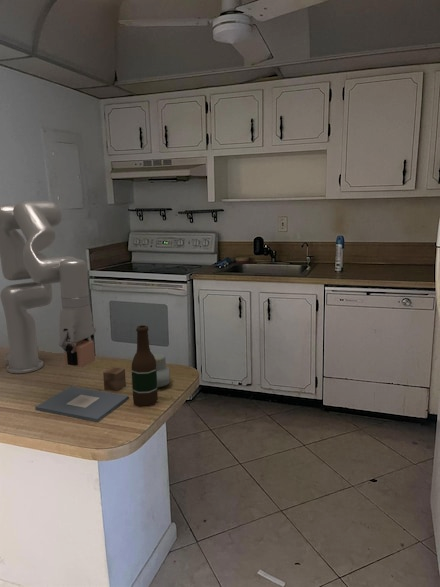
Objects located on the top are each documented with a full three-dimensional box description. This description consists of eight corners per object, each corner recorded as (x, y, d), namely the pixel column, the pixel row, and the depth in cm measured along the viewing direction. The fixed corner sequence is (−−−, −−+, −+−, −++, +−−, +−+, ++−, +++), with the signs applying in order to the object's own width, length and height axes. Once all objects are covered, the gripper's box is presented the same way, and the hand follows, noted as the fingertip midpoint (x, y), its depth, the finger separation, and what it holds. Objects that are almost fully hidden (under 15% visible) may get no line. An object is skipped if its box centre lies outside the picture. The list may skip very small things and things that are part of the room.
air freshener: (169, 390, 144) (168, 361, 142) (143, 391, 143) (142, 362, 141) (169, 377, 154) (169, 350, 152) (146, 378, 154) (144, 351, 152)
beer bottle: (137, 409, 131) (133, 331, 126) (129, 399, 137) (125, 325, 132) (162, 403, 134) (159, 327, 129) (153, 394, 141) (150, 321, 136)
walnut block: (104, 389, 145) (103, 372, 144) (113, 383, 150) (112, 367, 148) (117, 391, 143) (116, 374, 142) (125, 385, 148) (124, 368, 147)
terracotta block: (65, 364, 130) (63, 345, 129) (78, 358, 135) (77, 339, 134) (82, 367, 128) (80, 347, 126) (95, 360, 133) (93, 341, 132)
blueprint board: (35, 409, 131) (35, 406, 131) (71, 388, 145) (71, 385, 145) (97, 422, 123) (97, 418, 123) (128, 398, 138) (128, 395, 138)
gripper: (83, 295, 137) (87, 350, 141) (43, 307, 121) (49, 369, 125) (104, 297, 134) (107, 353, 138) (66, 309, 119) (71, 373, 122)
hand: (80, 360), depth 131 cm, fingers closed on terracotta block, 6 cm apart
